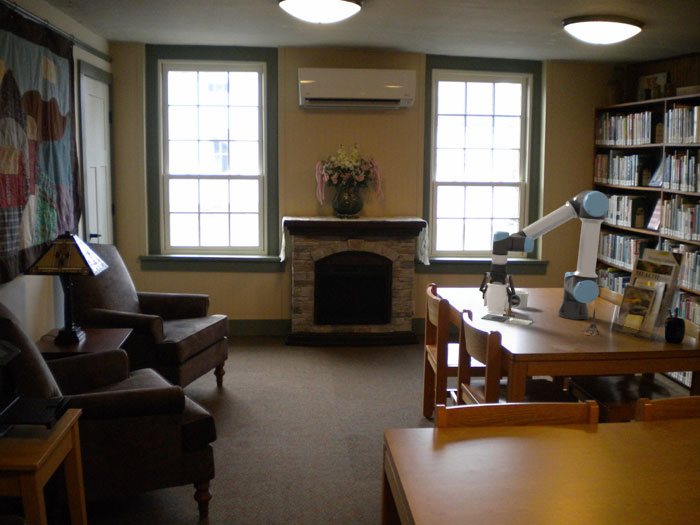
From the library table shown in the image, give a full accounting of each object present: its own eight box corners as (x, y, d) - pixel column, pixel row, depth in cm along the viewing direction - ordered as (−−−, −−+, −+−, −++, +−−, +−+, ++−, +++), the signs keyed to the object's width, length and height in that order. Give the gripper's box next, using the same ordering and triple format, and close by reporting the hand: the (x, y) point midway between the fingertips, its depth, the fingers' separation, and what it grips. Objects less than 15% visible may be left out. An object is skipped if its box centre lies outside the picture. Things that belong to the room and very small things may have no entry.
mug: (529, 306, 386) (530, 291, 385) (525, 309, 376) (526, 294, 375) (504, 303, 391) (505, 289, 390) (500, 306, 382) (501, 292, 381)
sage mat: (532, 322, 347) (532, 320, 347) (527, 325, 339) (527, 324, 339) (514, 319, 351) (514, 318, 351) (509, 323, 343) (509, 321, 343)
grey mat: (509, 318, 355) (509, 316, 354) (503, 322, 345) (503, 320, 345) (487, 315, 360) (488, 313, 359) (481, 319, 350) (481, 317, 350)
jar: (505, 311, 356) (507, 282, 354) (508, 316, 346) (510, 285, 344) (484, 310, 357) (486, 280, 355) (485, 314, 347) (488, 284, 345)
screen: (510, 309, 375) (512, 287, 374) (515, 316, 358) (516, 293, 356) (498, 308, 376) (500, 286, 374) (503, 316, 358) (504, 292, 356)
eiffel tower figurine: (577, 329, 337) (580, 302, 335) (600, 331, 336) (602, 303, 334) (581, 337, 323) (584, 308, 321) (605, 339, 321) (607, 310, 319)
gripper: (524, 264, 346) (521, 309, 349) (479, 259, 357) (476, 303, 360) (520, 266, 340) (517, 311, 343) (474, 261, 350) (471, 305, 353)
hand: (496, 307), depth 351 cm, fingers closed on jar, 10 cm apart
